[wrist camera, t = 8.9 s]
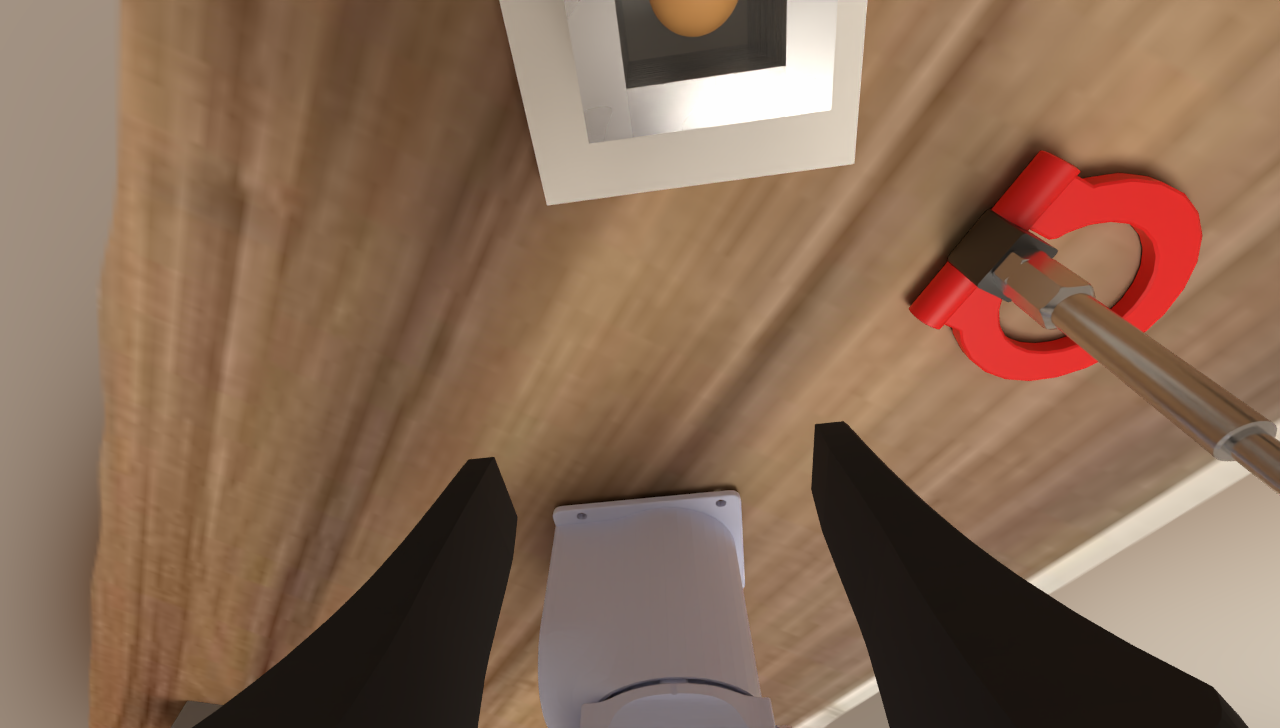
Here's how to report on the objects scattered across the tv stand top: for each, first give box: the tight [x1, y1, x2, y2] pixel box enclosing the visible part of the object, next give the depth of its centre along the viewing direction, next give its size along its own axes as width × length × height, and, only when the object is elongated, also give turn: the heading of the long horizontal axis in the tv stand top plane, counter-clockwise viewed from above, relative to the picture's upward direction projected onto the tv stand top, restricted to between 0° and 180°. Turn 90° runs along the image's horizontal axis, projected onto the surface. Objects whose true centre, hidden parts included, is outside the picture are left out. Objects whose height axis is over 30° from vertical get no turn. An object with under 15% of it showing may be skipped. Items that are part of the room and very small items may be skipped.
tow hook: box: [909, 150, 1280, 495], centre depth 16 cm, size 8×13×9 cm
